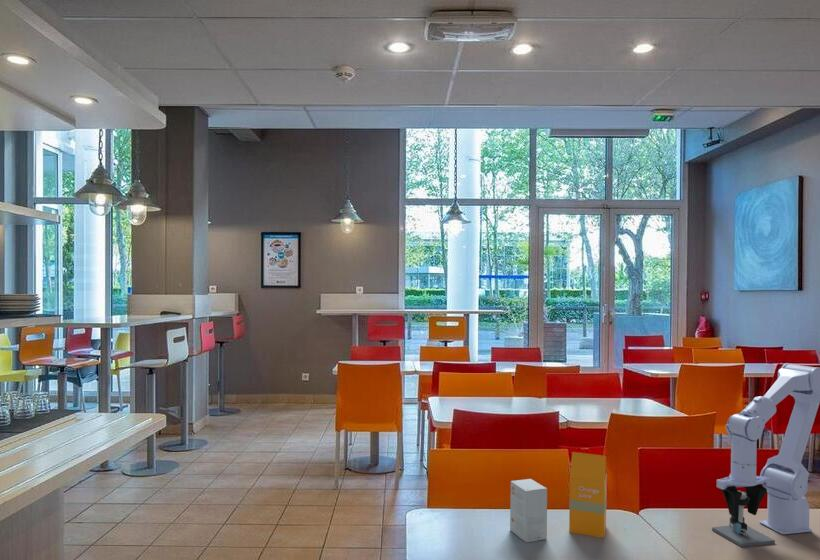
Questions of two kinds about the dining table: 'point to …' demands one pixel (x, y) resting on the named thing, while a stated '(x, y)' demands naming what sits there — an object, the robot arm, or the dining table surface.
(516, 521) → the small box
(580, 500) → the orange juice
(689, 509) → the dining table surface
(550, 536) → the dining table surface
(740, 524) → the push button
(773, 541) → the rubber pad
